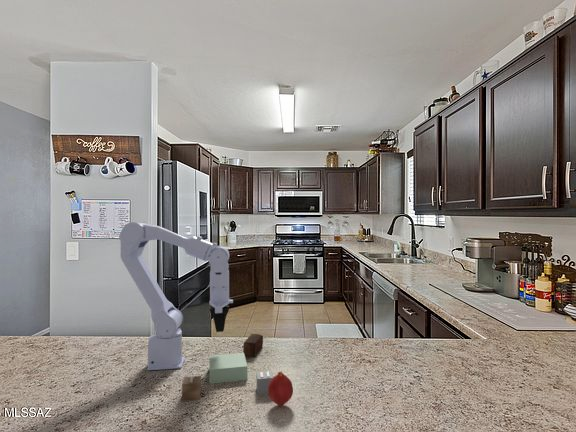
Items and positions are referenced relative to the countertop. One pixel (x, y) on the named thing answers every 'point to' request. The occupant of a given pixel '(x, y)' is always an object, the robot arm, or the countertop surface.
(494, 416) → the countertop surface
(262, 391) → the slate numbered block
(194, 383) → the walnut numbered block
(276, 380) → the onion
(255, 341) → the brick
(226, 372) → the sage block
